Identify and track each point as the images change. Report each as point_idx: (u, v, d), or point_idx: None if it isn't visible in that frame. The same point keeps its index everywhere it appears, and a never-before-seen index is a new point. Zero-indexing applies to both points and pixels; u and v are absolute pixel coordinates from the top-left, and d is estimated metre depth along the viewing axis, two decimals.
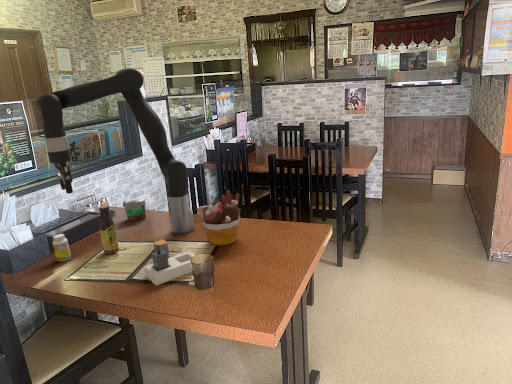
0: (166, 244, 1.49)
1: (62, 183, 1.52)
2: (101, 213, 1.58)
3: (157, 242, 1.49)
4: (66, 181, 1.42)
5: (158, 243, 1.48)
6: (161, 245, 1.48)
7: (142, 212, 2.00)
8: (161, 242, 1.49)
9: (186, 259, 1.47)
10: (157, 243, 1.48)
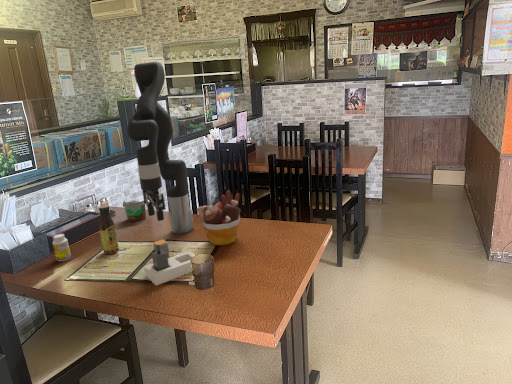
0: (166, 244, 1.49)
1: (150, 209, 1.49)
2: (101, 213, 1.58)
3: (157, 242, 1.49)
4: (160, 209, 1.39)
5: (158, 243, 1.48)
6: (161, 245, 1.48)
7: (142, 212, 2.00)
8: (161, 242, 1.49)
9: (186, 259, 1.47)
10: (157, 243, 1.48)
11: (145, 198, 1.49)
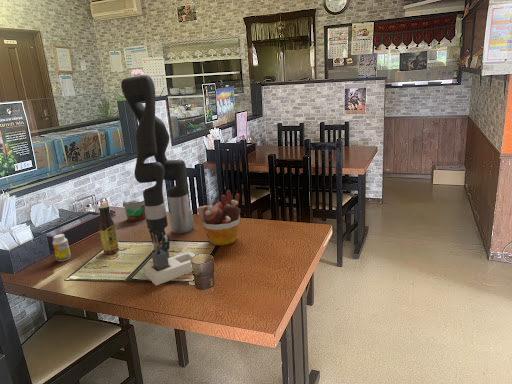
0: None
1: None
2: (101, 213, 1.58)
3: None
4: (164, 249, 1.45)
5: None
6: None
7: (142, 212, 2.00)
8: None
9: (186, 259, 1.47)
10: None
11: (153, 238, 1.52)
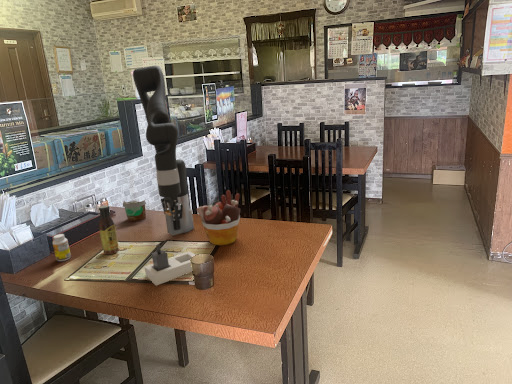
0: None
1: None
2: (101, 213, 1.58)
3: None
4: (176, 218, 1.34)
5: None
6: None
7: (142, 212, 2.00)
8: (173, 211, 1.38)
9: (186, 259, 1.47)
10: (169, 212, 1.37)
11: (165, 208, 1.42)
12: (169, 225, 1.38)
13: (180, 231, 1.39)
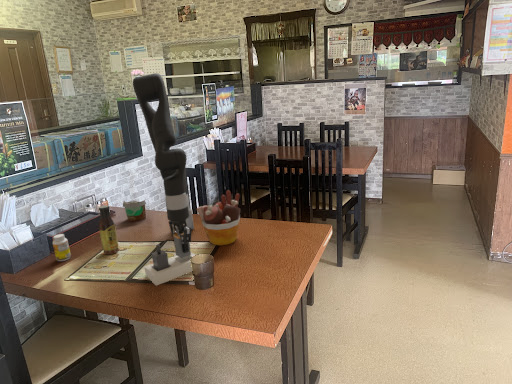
0: None
1: None
2: (101, 213, 1.58)
3: (177, 234, 1.40)
4: (185, 241, 1.36)
5: None
6: None
7: (142, 212, 2.00)
8: (182, 234, 1.40)
9: (186, 259, 1.47)
10: (177, 235, 1.39)
11: (172, 230, 1.43)
12: (178, 248, 1.40)
13: (188, 253, 1.42)
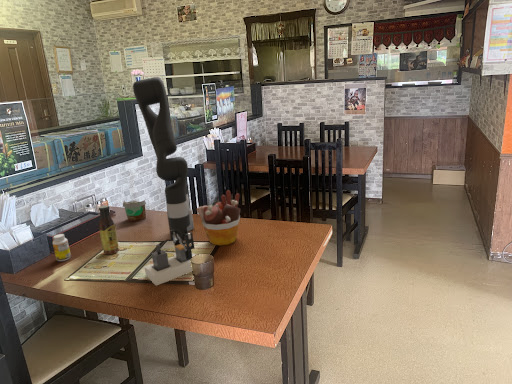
0: None
1: None
2: (101, 213, 1.58)
3: (179, 245, 1.42)
4: (189, 248, 1.36)
5: (180, 246, 1.41)
6: (184, 249, 1.40)
7: (142, 212, 2.00)
8: None
9: None
10: (179, 246, 1.41)
11: (172, 235, 1.45)
12: (179, 259, 1.41)
13: None
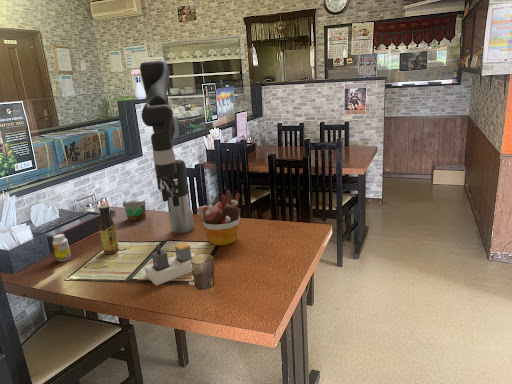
0: (189, 247, 1.41)
1: (164, 195, 1.49)
2: (101, 213, 1.58)
3: (179, 245, 1.42)
4: (176, 194, 1.39)
5: (180, 246, 1.41)
6: (184, 249, 1.40)
7: (142, 212, 2.00)
8: (183, 245, 1.41)
9: None
10: (179, 246, 1.41)
11: (159, 184, 1.49)
12: (179, 259, 1.41)
13: None
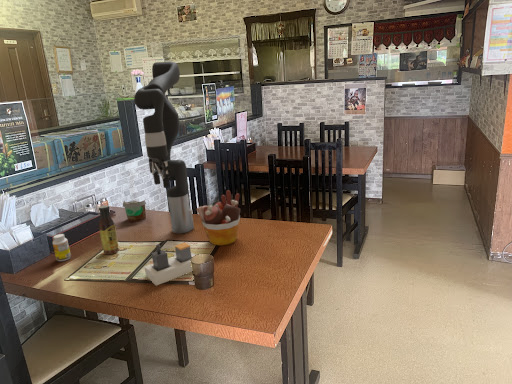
0: (189, 247, 1.41)
1: (156, 178, 1.53)
2: (101, 213, 1.58)
3: (179, 245, 1.42)
4: (166, 175, 1.44)
5: (180, 246, 1.41)
6: (184, 249, 1.40)
7: (142, 212, 2.00)
8: (183, 245, 1.41)
9: None
10: (179, 246, 1.41)
11: (151, 167, 1.53)
12: (179, 259, 1.41)
13: None
